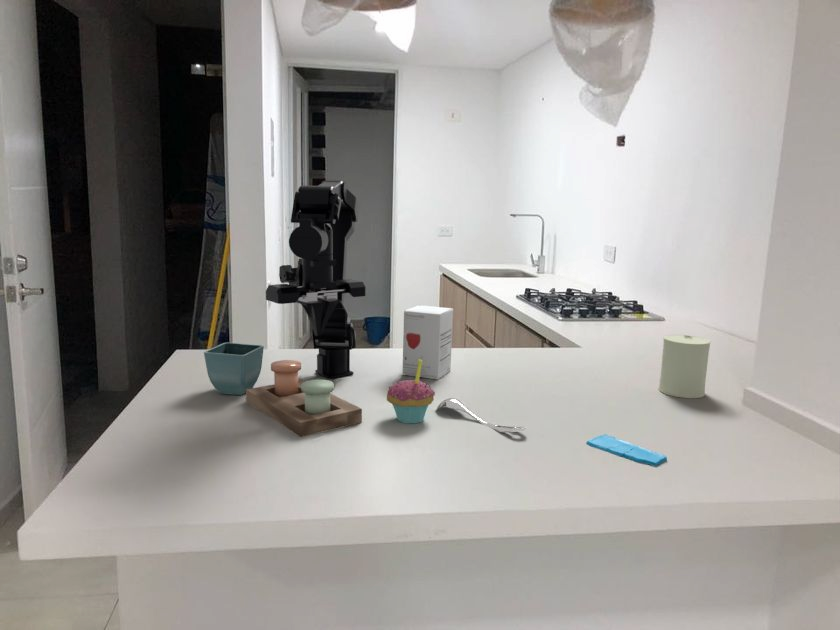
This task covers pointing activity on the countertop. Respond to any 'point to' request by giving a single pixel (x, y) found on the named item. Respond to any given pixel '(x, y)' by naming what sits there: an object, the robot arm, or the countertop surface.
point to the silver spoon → (461, 406)
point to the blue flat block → (626, 450)
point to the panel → (302, 411)
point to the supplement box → (427, 341)
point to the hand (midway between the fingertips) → (317, 335)
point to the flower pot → (234, 367)
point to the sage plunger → (317, 396)
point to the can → (684, 366)
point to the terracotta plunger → (286, 377)
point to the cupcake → (410, 398)
